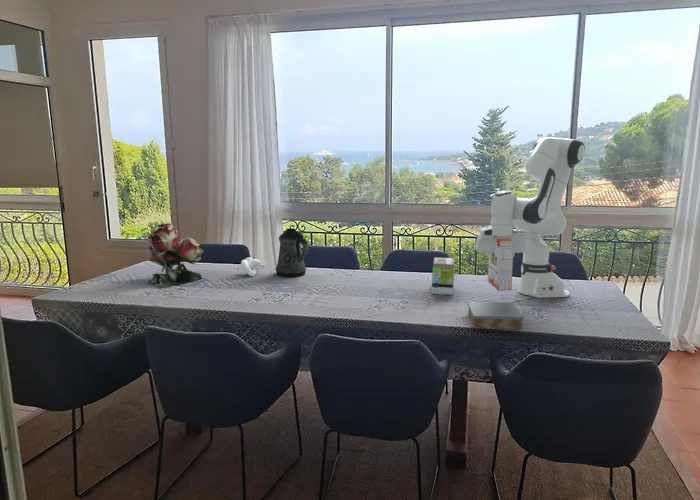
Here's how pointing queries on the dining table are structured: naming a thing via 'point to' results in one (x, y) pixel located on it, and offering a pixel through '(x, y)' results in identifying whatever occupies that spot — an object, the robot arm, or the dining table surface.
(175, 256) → the rose bouquet
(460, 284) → the dining table surface
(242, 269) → the white knot sculpture
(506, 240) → the cracker box
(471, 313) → the podium
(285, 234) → the beer stein
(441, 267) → the tea box
